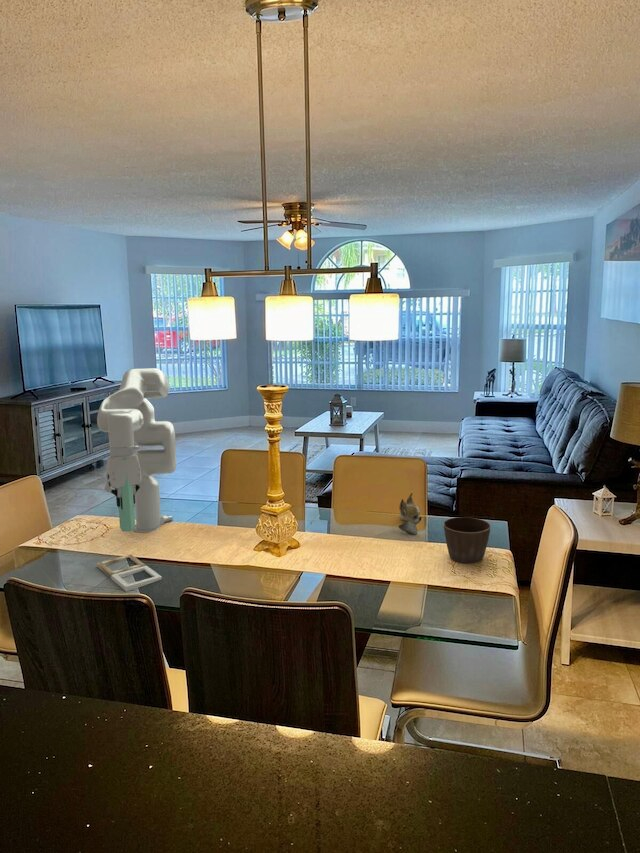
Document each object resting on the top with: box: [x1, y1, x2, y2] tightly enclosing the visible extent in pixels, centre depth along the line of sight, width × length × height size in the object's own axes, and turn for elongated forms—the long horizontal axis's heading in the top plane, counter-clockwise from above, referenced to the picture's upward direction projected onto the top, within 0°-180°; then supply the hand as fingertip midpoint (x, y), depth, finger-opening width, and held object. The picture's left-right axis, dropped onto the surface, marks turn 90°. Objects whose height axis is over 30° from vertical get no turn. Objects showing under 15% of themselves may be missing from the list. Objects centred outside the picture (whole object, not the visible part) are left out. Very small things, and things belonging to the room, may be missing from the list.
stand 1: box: [96, 554, 146, 579], centre depth 215 cm, size 12×12×2 cm
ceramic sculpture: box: [398, 492, 423, 536], centre depth 242 cm, size 11×9×15 cm
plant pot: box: [443, 516, 492, 565], centre depth 207 cm, size 15×15×16 cm
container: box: [118, 457, 136, 533], centre depth 203 cm, size 6×6×25 cm
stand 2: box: [110, 565, 163, 592], centre depth 205 cm, size 12×12×2 cm
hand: (126, 506), depth 204 cm, fingers closed on container, 2 cm apart
